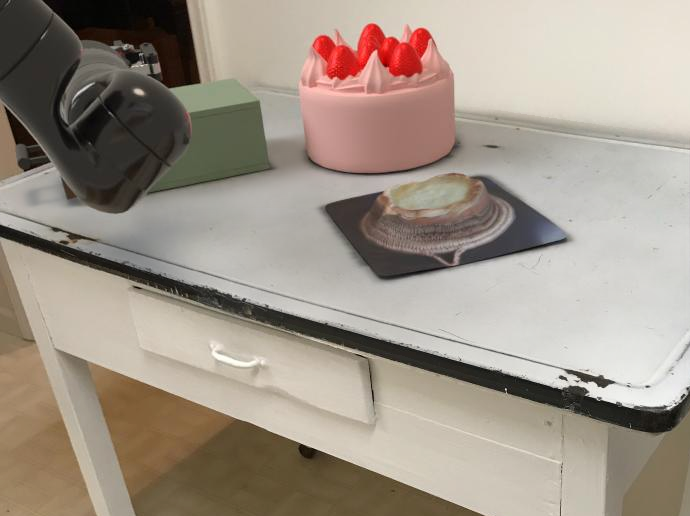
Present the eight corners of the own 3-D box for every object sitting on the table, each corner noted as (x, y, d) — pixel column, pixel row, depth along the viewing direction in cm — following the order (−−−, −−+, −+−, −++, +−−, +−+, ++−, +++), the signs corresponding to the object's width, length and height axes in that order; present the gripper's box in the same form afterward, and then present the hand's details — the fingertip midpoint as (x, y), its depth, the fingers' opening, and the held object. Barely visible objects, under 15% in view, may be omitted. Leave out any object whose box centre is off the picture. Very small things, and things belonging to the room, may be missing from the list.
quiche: (570, 240, 86) (572, 202, 84) (380, 282, 81) (377, 243, 79) (484, 175, 103) (484, 142, 100) (322, 206, 98) (318, 172, 95)
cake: (276, 160, 111) (259, 45, 103) (367, 117, 124) (359, 12, 116) (399, 185, 102) (392, 60, 93) (484, 136, 115) (484, 22, 107)
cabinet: (147, 193, 104) (130, 122, 100) (131, 163, 114) (115, 97, 109) (270, 168, 109) (259, 100, 104) (244, 141, 119) (234, 77, 114)
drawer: (30, 207, 100) (12, 150, 97) (24, 177, 109) (7, 124, 105) (187, 176, 106) (176, 121, 102) (170, 150, 115) (159, 98, 111)
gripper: (167, 37, 77) (137, 8, 89) (0, 61, 73) (-7, 28, 85) (183, 121, 81) (153, 83, 93) (27, 148, 77) (17, 104, 89)
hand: (77, 56), depth 89 cm, fingers open, 8 cm apart
